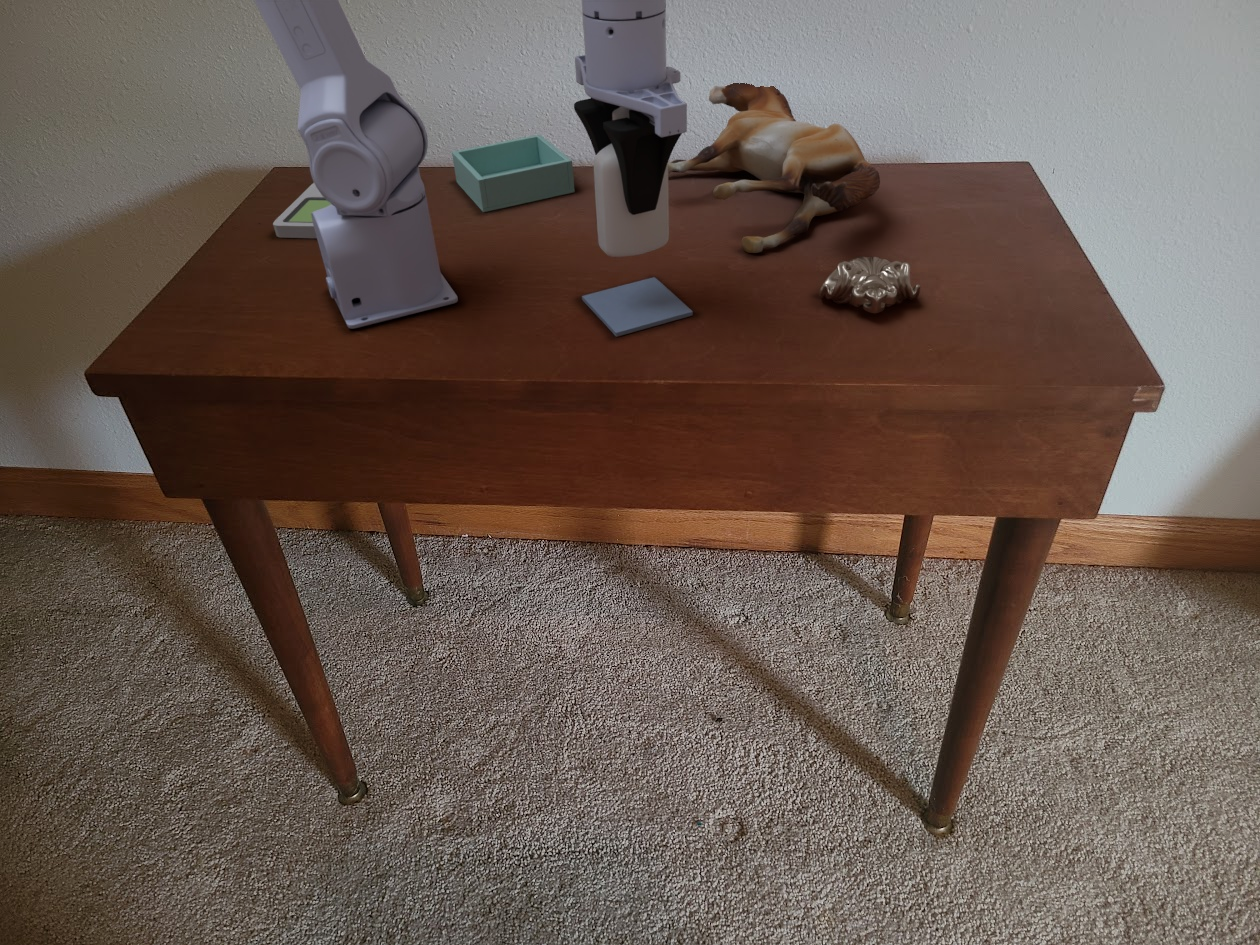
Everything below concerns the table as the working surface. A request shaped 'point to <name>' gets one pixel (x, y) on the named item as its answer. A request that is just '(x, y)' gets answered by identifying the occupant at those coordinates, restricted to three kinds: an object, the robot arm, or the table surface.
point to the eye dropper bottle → (626, 209)
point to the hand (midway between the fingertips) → (631, 201)
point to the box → (513, 172)
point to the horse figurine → (783, 158)
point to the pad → (636, 306)
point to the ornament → (869, 283)
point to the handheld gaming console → (300, 215)
